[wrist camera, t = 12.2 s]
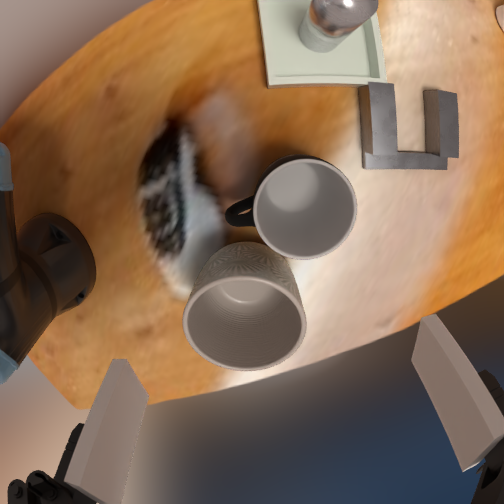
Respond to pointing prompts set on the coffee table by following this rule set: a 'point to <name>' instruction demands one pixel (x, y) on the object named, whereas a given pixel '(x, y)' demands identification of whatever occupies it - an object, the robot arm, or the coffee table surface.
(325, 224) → the mug
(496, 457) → the robot arm
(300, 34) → the pin
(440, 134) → the hitch clevis
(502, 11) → the can
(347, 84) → the tray
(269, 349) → the planter
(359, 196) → the coffee table surface
